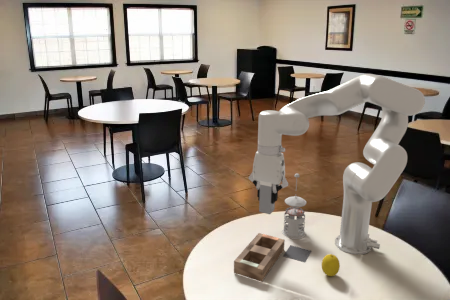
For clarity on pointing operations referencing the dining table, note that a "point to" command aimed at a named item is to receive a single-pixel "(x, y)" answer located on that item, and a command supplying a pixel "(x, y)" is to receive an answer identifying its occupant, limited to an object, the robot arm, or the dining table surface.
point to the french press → (294, 225)
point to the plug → (266, 198)
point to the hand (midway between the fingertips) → (267, 200)
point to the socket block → (259, 257)
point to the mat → (297, 253)
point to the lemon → (330, 265)
